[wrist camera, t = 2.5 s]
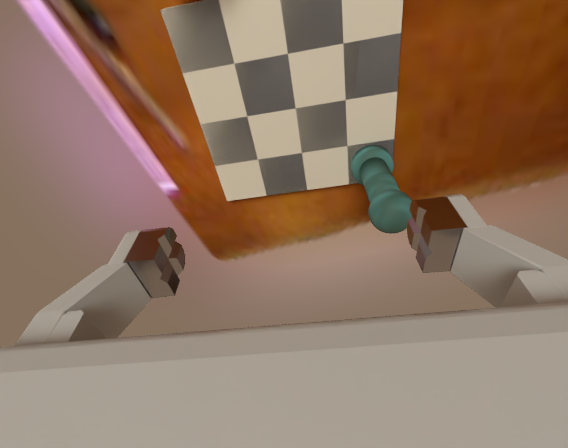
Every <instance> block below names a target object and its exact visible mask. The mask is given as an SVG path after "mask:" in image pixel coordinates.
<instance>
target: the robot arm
mask: <svg viewBox="0 0 568 448" xmlns="http://www.w3.org/2000/svg"><path fill="white" fill-rule="evenodd" d="M410 213H411V215H412V217H411V218H410V219H409V220H408V225H407V234H408V239H409V243H410V245H411V247H412V248H413V249H414V250H416V251H417V255H416V259H417V261H418V263H419V265H420V268H421V270H422V272H423V273H429V272H443V271H451V273H452V274H453V275H455V276H456V277H457V278H458V279H460V280H461V281H462V282H464V283H465V284H466V285H467V286H469V287H470V288H471V289H473V290H474V291H475V292H477V293H478V294H479V295H480V296H482V297H483V298H484V299H486V300H487V301H488V302H489V303H491V304H492V305H493V306H495V307H496V308H485V309H474V310H461V311H448V312H436V313H424V314H410V315H398V316H385V317H372V318H360V319H347V320H335V321H322V322H311V323H297V324H284V325H272V326H259V327H247V328H234V329H222V330H211V331H210V330H209V331H197V332H185V333H172V334H160V335H147V336H135V337H122V338H117V337H118V336H119V335H120V334H121V333H122V332H123V330H125V328H126V327H127V326H128V325H129V324H130V323H131V322H132V321H133V320H134V318H135V317H136V316H137V315H138V314H139V313H140V312H141V311H142V310H143V309H144V307H145V306H146V305H147V304H148V303H149V302H150V301H151V298H158V297H167V296H175V294H176V290H177V288H178V285H179V281H180V280H179V278H178V275H179V274H180V273H181V272H182V271H183V269H184V265H185V254H184V250H183V248H182V245H181V244H179V243H177V242H176V241H175V239H176V236H177V235H176V234H175V232H174V230H173V229H172V228H170V227H168V228H157V229H146V230H138V231H129V232H128V233H126V234H125V236H124V237H123V239H122V241H121V243H120V244H119V246H118V248H117V250H116V251H115V253H114V255H113V256H112V258H111V260H110V261H109V263H108V265H103V266H102V267H100V268H99V269H97V270H96V271H95V272H93V273H92V274H90V275H89V276H88V277H86V278H85V279H83V280H82V281H81V282H79V283H78V284H77V285H75V286H74V287H72V288H71V289H70V290H68V291H67V292H66V293H64V294H63V295H61V296H60V297H59V298H57V299H56V300H54V301H53V302H52V303H50V304H49V305H48V306H46V307H45V308H43V309H42V310H41V311H39V312H38V313H37V314H36V316H35V317H34V318H33V320H32V321H31V323H30V324H29V326H28V327H27V328H26V330H25V332H24V333H23V334H22V335H21V337H20V338H19V340H18V341H17V343H16V344H15V345H14V346H9V347H0V448H568V259H565V258H563V257H561V256H559V255H556V254H554V253H552V252H550V251H548V250H546V249H544V248H541V247H539V246H537V245H534V244H533V243H530V242H528V241H526V240H524V239H522V238H519V237H517V236H515V235H513V234H511V233H508V232H506V231H504V230H502V229H500V228H498V227H495V226H493V225H490V226H487V224H486V223H485V222H484V221H483V219H482V218H481V217H480V216H479V214H478V213H477V212H476V211H475V209H474V208H473V207H472V205H471V204H470V203H469V201H468V200H467V199H466V198H465V196H464V195H462V194H456V195H449V196H444V197H437V198H428V199H419V200H412V202H411V204H410Z"/></svg>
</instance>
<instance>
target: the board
mask: <svg viewBox="0 0 568 448" xmlns="http://www.w3.org/2000/svg"><path fill="white" fill-rule="evenodd" d="M402 10H403V0H202V1H198V2H193V3H188V4H183V5H178V6H174V7H169V8H164V9H162V10H161V13H162V16H163V18H164V21H165V24H166V27H167V30H168V33H169V36H170V38H171V41H172V44H173V47H174V50H175V53H176V56H177V59H178V61H179V64H180V67H181V70H182V73H183V76H184V79H185V81H186V84H187V87H188V90H189V93H190V96H191V99H192V102H193V104H194V107H195V110H196V113H197V116H198V119H199V122H200V124H201V127H202V130H203V133H204V136H205V139H206V142H207V145H208V147H209V150H210V153H211V156H212V159H213V162H214V165H215V167H216V170H217V173H218V176H219V179H220V182H221V185H222V188H223V190H224V193H225V196H226V199H227V201H232V200H239V199H246V198H253V197H260V196H268V195H275V194H282V193H289V192H297V191H304V190H311V189H318V188H325V187H333V186H340V185H347V184H354V183H358V182H357V181H356V180H355V178H354V176H353V173H352V170H351V161H352V158H353V156H354V155H355V153H356V152H357V151H358V150H360V149H361V148H363V147H365V146H369V145H379V146H382V147H384V148H385V149H386V150H387V151H388V153H389V154H390V156H391V158H392V160H393V150H394V134H395V119H396V103H397V88H398V72H399V57H400V41H401V26H402Z"/></svg>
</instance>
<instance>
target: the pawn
mask: <svg viewBox="0 0 568 448" xmlns="http://www.w3.org/2000/svg"><path fill="white" fill-rule="evenodd" d="M393 168H394V163H393V160H392V158H391V156H390V154H389V153H388V151H387V150H386V149H385V148H384V147H382V146H379V145H369V146H365V147H363V148H361V149H360V150H358V151H357V152H356V153H355V155H354V156H353V158H352V161H351V170H352V173H353V176H354V178H355V180H356V181H357V182H358V183H359V184H361V185H363V186H364V187H365V190H366V193H367V196H368V199H369V201H370V206H369V218H370V220H371V222H372V224H373V225H374V226H375V227H376V228H377V229H378V230H380V231H382V232H385V233H398V232H401V231H403V230H405V229H406V228H407V225H408V220H409V219H410V218H411V217H412V215H411V213H410V204H411V202H412V200H411V199H410V197H409V196H408V195H407V194H405V193H403V192H401V191H400V189H399V187H398V185H397V183H396V181H395V179H394V177H393V175H392V172H393Z"/></svg>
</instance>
